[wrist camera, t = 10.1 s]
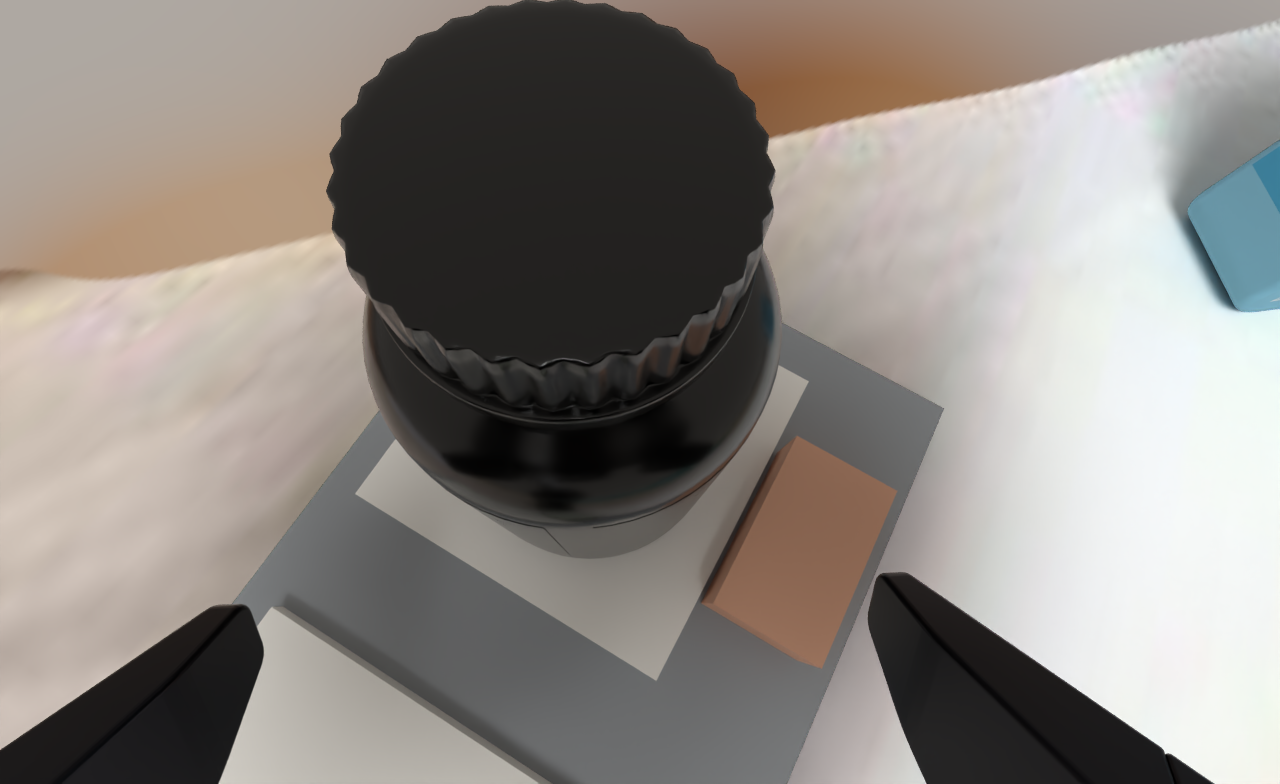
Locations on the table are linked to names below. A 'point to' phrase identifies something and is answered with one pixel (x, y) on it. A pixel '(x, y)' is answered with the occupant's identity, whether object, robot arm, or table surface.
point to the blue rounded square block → (1244, 230)
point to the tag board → (580, 612)
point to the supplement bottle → (562, 267)
